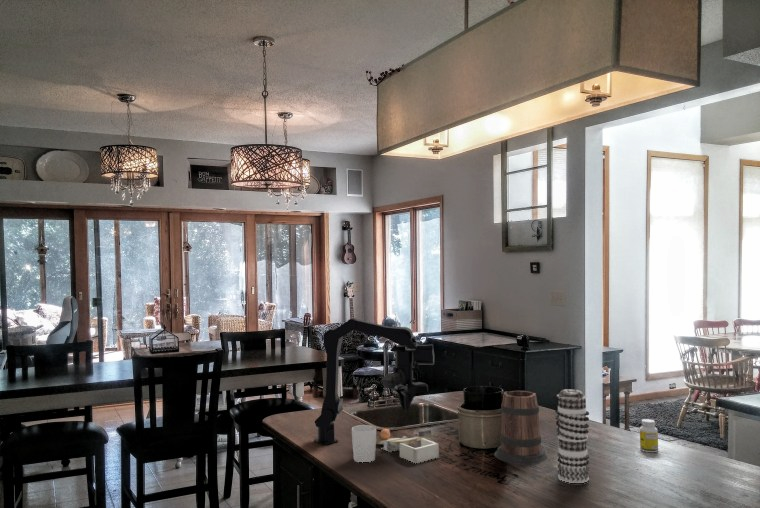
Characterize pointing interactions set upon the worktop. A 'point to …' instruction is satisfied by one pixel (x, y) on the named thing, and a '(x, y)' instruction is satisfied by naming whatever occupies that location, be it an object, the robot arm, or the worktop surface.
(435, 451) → the tray
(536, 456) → the tankard
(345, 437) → the worktop surface
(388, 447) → the fulcrum
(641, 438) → the supplement bottle
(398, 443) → the lever
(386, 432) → the ball
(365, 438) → the white cup
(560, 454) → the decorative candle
